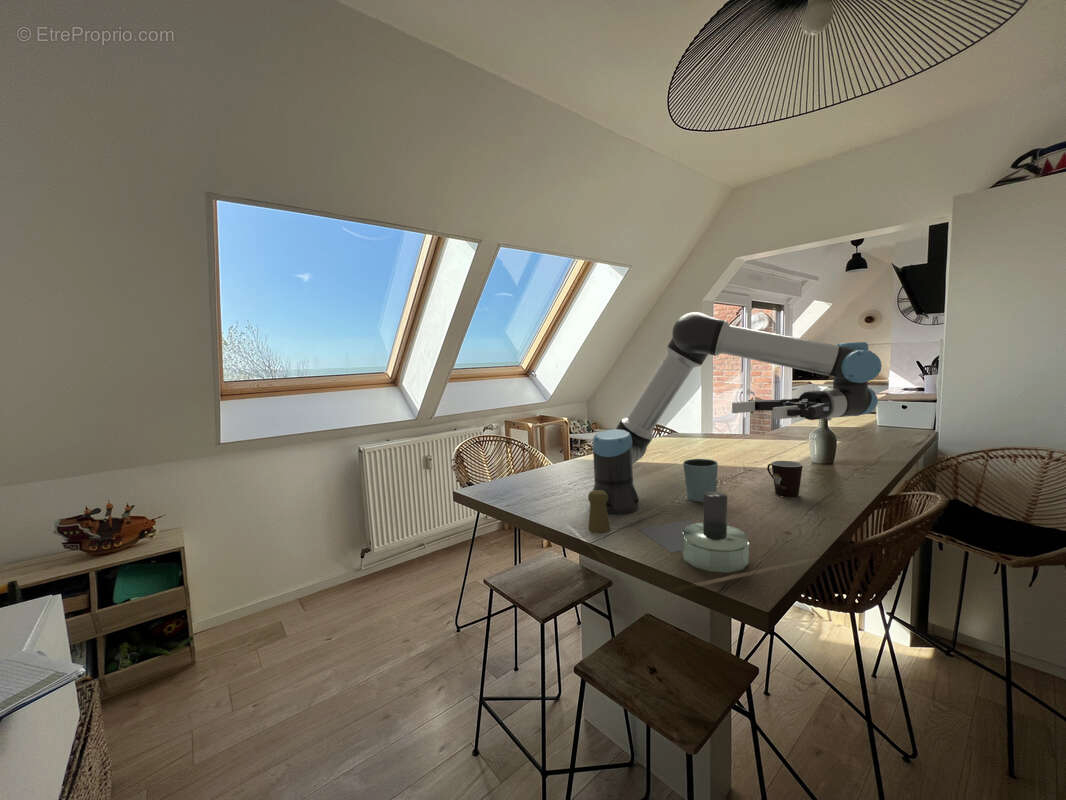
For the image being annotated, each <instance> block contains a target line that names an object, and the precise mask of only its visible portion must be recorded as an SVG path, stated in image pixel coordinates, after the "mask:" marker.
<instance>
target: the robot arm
mask: <svg viewBox="0 0 1066 800" xmlns="http://www.w3.org/2000/svg"><path fill="white" fill-rule="evenodd" d="M666 348H667V351H668V352H667V353H668V354H666V357H665V358H664V360H663V361H662V363H661V365H660V367H659V368H658V369H657V371H656V373H655V374H654V376H653V378H652V379H651V381H650V382H649V384H648V385H647V387H646V389H645V390H644V392H643V394H642V395H641V396H640V399H639V400H638V401H637V402H636V405H635V406H634V407H633V409H632V411H630V414H629V416H627V417H626V416H625V417H622V418H621V420H620V422H618V425H617V426H616V428H615V429H607V430H605V431H604V430H603V431H602V430H601V431H599V432H597V433H596V434H595V435H594V436H593V438H592V442H593V443H592V455H593V456H592V457H593V473H594V483H593V484H594V485H593V488H592V491H593V490H603V491H605V492H606V493H607V496H608V501H607V502H606V507H607V513H608V516H609V515H610V516H612V515H613V516H614V515H615V516H618V515H619V516H620V515H628V514H632V513H635V512H637V511H639V510H640V509H641V502H640V498H639V496H638V492H637V490H636V487H635V484H634V469H633V468H634V467H633V465H634V464H635V463H637V462H638V461H640V459H642V458H643V457H644V455H645V454H646V451H647V448H648V446H649V445H650V443H651V442H652V440H653V438H654V435H653V430H654V428H655V427H656V425H657V423H658V422H659V421H660V420H661V418H662V416H663V414H664V413H665V412H666V410H667V409H668V408H669V406H670V404H671V402H672V401H673V399H674V398H675V396H676V395H677V393H678V392H679V390H680V389H681V387H682V386H683V384H684V383H685V381H686V380H687V378H688V377H689V375H690V374H691V371H692V370H694V368H697V367H700V366H702V365H703V363H704V362H705V360H706V359H707V357H708V356H709V355H711V356H715V357H718V356H719V355H721V354H723V355H730V356H734V357H739V358H743V359H747V360H752V361H757V362H762V363H767V364H771V365H777V366H780V367H786V368H789V369H791V368H792V369H795V370H799V371H800V370H801V371H804V372H809V373H815V374H819V375H822V376H823V375H824V376H828V377H833V379H832V380H833V381H832V388H828V389H827V388H826V389H825V388H824V389H816V390H815V389H814V390H806V391H805V392H803V393H801V394H800V396H799V397H794V398H793V397H792V398H781V399H754V400H753V399H748V400H747V401H739V402H732V403H731V413H732V414H741V413H743V414H744V413H750V414H754V412H756V411H767V412H768V411H770V412H771V411H772V419H773V420H783V419H794V418H803V419H806V420H809V421H816V420H824V419H826V420H827V421H832V418H833V419H834V418H843V417H844V418H846V417H859V416H862V415H863V416H865V415H868V414H871V413H872V412H873V411H874V410H875V409H876V408H877V406H878V403H879V401H878V396H877V394H876V392H875V391H874V390H873V389H872V388H870V387H869V384H868V383H869V382H871V381H872V380H874V379H876V378H877V377H878V375H880V373H881V371H882V361H881V358H880V357H879V356H878V355H877V354H876V353H875V352H872V350H869V344H868V343H867V342H865V341H860V342H859V341H857V342H838V343H836V344H832V343H827V342H821V341H816V340H811V339H806V338H800V337H795V336H789V335H785V334H784V335H783V334H780V333H778V334H777V333H774V332H768V331H762V330H758V329H753V328H752V329H751V328H746V327H741V326H737V325H736V326H735V325H732V324H730V323H729V322H728V320H725V319H720V318H716V317H713V316H710V315H708V314H705V313H702V312H700V311H699V312H698V311H692V312H688V313H686V314H683V315H682V316H680V317H679V318H678V319H677V320H676V321H675V323H674V325H673V328H672V337H671V339H670V341H669V343H668V344H667V346H666ZM590 504H591V503H590V502H589V505H590Z"/></svg>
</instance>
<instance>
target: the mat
mask: <svg viewBox="0 0 1066 800" xmlns="http://www.w3.org/2000/svg"><path fill="white" fill-rule="evenodd" d="M695 523H696V522H693V521H692V520H691V519H690V520H689V519H687V520H680V521H675V522H668V523H663V524H658V525H657V524H656V525H652V526H645V527H639V528H636V530H637V531H639V532H640V533H642V534H644V535H645V536H646V537H647V538H649V539H651V540H652V541H653V542H655V543H656V544H657V545H659V546H661V548H664V549H665V550H667V552H669V553H672V554H673V553H677V552H683V531H684V529H685V527H687V526H689V525H691V524H695Z"/></svg>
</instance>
